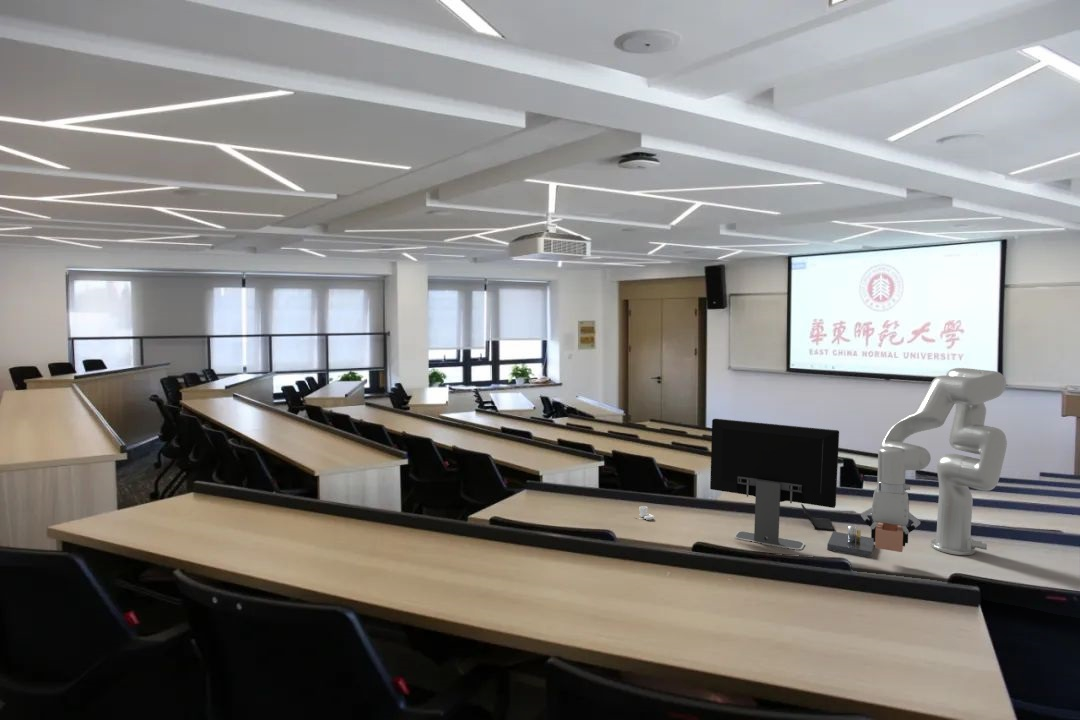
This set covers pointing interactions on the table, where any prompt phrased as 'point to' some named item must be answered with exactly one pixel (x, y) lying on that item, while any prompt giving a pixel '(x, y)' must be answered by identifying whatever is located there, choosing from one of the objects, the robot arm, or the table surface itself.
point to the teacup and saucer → (645, 513)
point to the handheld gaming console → (819, 522)
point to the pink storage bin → (889, 537)
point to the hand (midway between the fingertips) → (889, 542)
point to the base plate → (851, 543)
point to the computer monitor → (774, 470)
